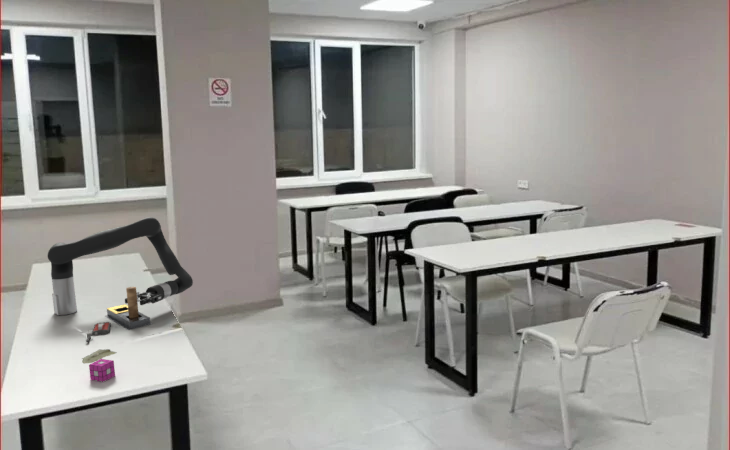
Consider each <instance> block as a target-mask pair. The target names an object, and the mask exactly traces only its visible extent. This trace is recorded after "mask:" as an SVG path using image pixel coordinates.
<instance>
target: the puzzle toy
mask: <svg viewBox="0 0 730 450" xmlns="http://www.w3.org/2000/svg"><path fill="white" fill-rule="evenodd" d="M88 367H89V368H88V369H89V379H90V381H93V380H97V381H96V382H99V381H102V382H101V383H104V382H103V381H105V380H106V381H108V380H111V379H112V378H114V377H116V370H115V362H114V360H112V359H104V358H102V359H100V360H97V361H95V362H92V363H89V365H88ZM106 381H105V382H106Z"/></svg>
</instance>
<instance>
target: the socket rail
mask: <svg viewBox="0 0 730 450" xmlns="http://www.w3.org/2000/svg"><path fill="white" fill-rule="evenodd" d="M106 312H107V314H106V315H105V317H106V318H107V319H109V320H111V321H113V322H114V323H116V324H117V325H119V326H121V327H123V328H124V329H125V330H128V331H129V330H134V329H138V328H142V327H146V326H151V325H154V324H153V322H151V318H150V317H149V316H147V315H146V314H144V313H141V312H139V311H138V313H139V317H138V318H134V319H129V311H128V304H126V303H124V304H121V305H116V306H112V307H111V306H110V307H107V308H106Z"/></svg>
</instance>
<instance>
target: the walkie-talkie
mask: <svg viewBox="0 0 730 450" xmlns="http://www.w3.org/2000/svg"><path fill="white" fill-rule="evenodd" d="M111 326H112V322H110V321H103V322H102V321H101V322H97V323H95V324H94V326H93V328H92V329H89V330H87V332H86V340H85V343H89V342H90V340H91V338H92V336H99V335H101V336H104V335H107V334H110V331H111Z"/></svg>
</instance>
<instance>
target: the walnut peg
mask: <svg viewBox="0 0 730 450" xmlns="http://www.w3.org/2000/svg"><path fill="white" fill-rule="evenodd" d="M125 290H126V298H127V301H128V303H127V305H128V311H129V319H134V318H138V317H139V313H138V312H139V307H138V306H139V305H138V302H137V292H138V291H137V287H136V286H128V287H126V289H125Z"/></svg>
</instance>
